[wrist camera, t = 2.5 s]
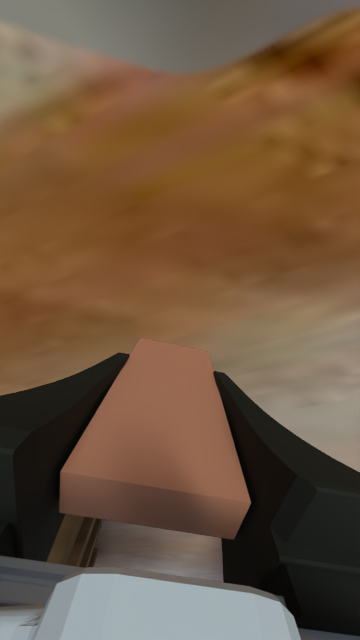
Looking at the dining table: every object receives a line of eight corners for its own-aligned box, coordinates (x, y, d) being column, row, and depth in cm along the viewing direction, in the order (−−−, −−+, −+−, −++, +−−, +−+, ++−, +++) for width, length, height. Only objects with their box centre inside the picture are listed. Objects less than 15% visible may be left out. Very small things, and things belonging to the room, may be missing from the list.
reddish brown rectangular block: (140, 337, 13) (60, 471, 5) (207, 351, 13) (250, 503, 5) (137, 357, 14) (59, 512, 5) (202, 370, 14) (233, 539, 5)
